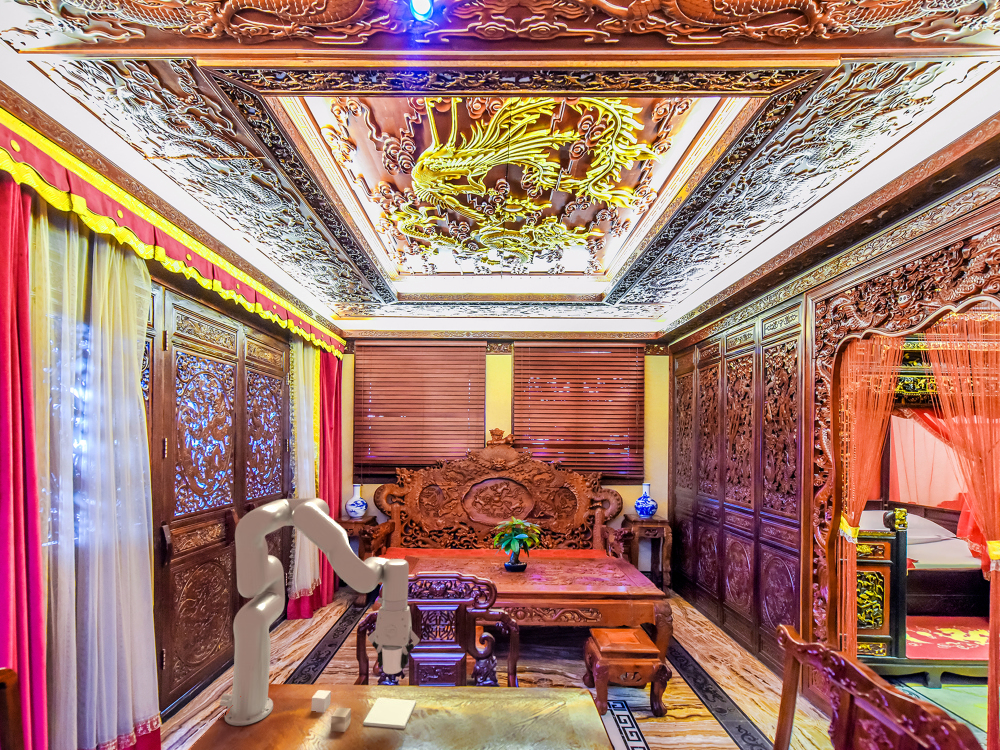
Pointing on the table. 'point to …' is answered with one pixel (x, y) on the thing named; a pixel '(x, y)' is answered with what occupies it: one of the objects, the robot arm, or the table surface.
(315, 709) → the off-white plastic block
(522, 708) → the table surface
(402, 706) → the cream pad
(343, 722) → the birch block
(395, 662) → the white rounded piece
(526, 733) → the table surface
